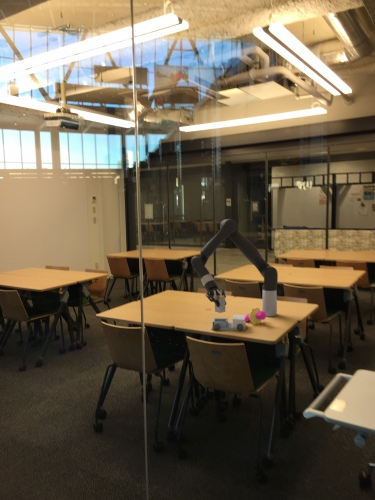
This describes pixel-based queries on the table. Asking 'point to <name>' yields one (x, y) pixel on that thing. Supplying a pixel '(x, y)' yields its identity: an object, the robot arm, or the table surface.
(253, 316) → the toy
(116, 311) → the table surface
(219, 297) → the engine block
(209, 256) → the robot arm
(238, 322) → the chassis
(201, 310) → the table surface
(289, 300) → the table surface
